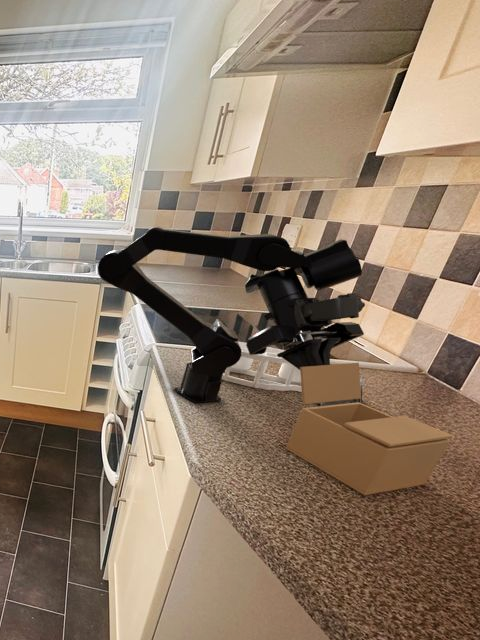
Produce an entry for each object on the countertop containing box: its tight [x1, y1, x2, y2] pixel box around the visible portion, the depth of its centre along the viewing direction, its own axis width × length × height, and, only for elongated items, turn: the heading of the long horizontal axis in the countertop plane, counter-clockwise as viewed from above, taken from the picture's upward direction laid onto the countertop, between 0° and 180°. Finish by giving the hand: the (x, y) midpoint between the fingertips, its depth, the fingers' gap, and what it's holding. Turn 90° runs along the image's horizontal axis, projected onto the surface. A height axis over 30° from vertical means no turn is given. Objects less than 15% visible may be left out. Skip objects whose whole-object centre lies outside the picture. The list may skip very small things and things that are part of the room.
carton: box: [285, 402, 454, 496], centre depth 63 cm, size 12×12×8 cm
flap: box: [300, 362, 361, 405], centre depth 66 cm, size 6×12×1 cm
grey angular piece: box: [316, 377, 364, 406], centre depth 84 cm, size 10×7×12 cm
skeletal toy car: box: [221, 341, 302, 393], centre depth 93 cm, size 20×11×7 cm, turn 54°
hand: (325, 385), depth 67 cm, fingers closed
